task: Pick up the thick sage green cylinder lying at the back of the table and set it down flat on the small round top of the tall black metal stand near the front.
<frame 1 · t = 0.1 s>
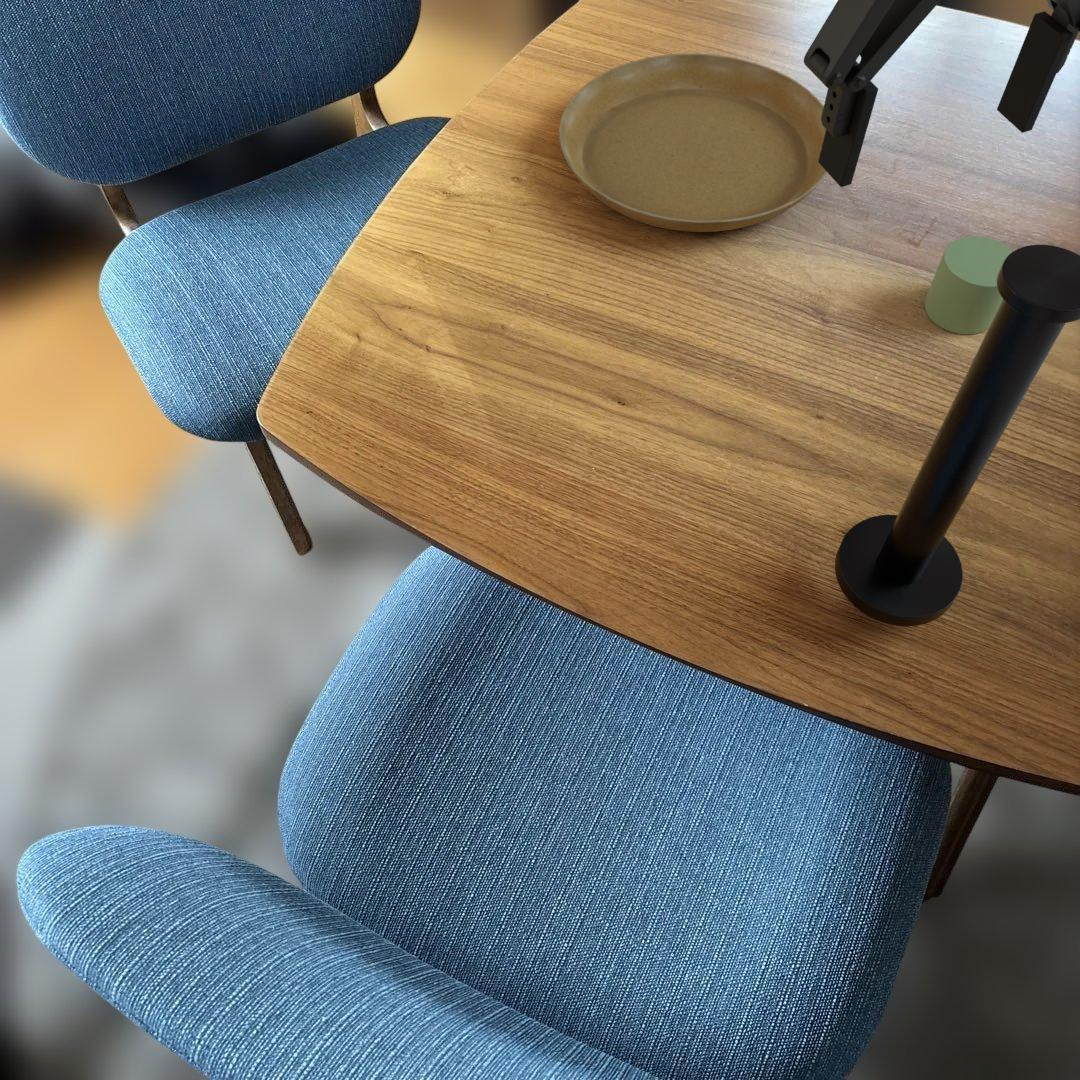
hand: (925, 146, 66), 17 cm above the table, tool pointing down, fingers open, 13 cm apart
plant saucer: (692, 163, 93), on the table
stand: (1052, 276, 47), on the table
sage green cylinder: (960, 309, 82), on the table
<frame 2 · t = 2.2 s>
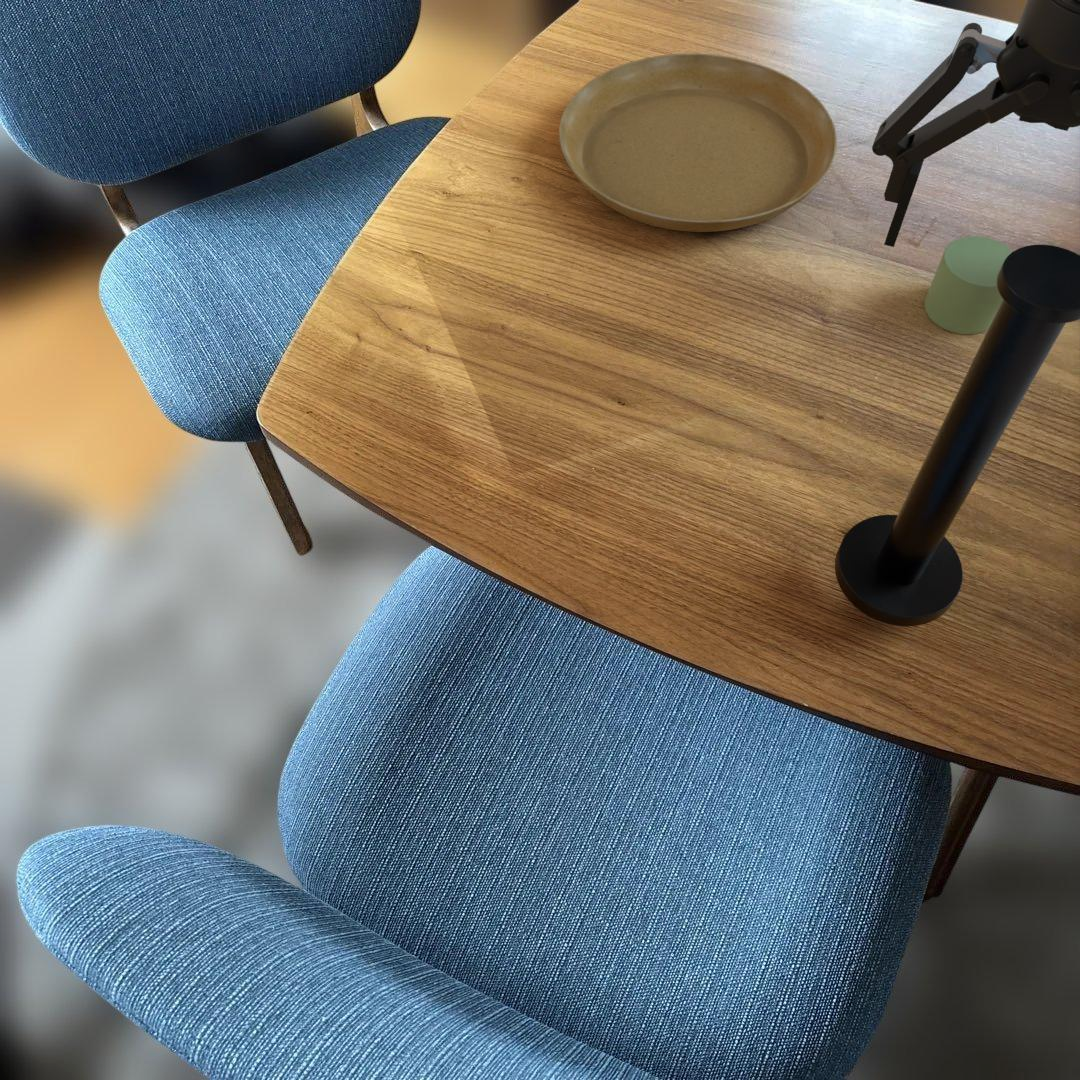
hand: (982, 257, 78), 5 cm above the table, tool pointing down, fingers open, 13 cm apart
nothing on the table moved.
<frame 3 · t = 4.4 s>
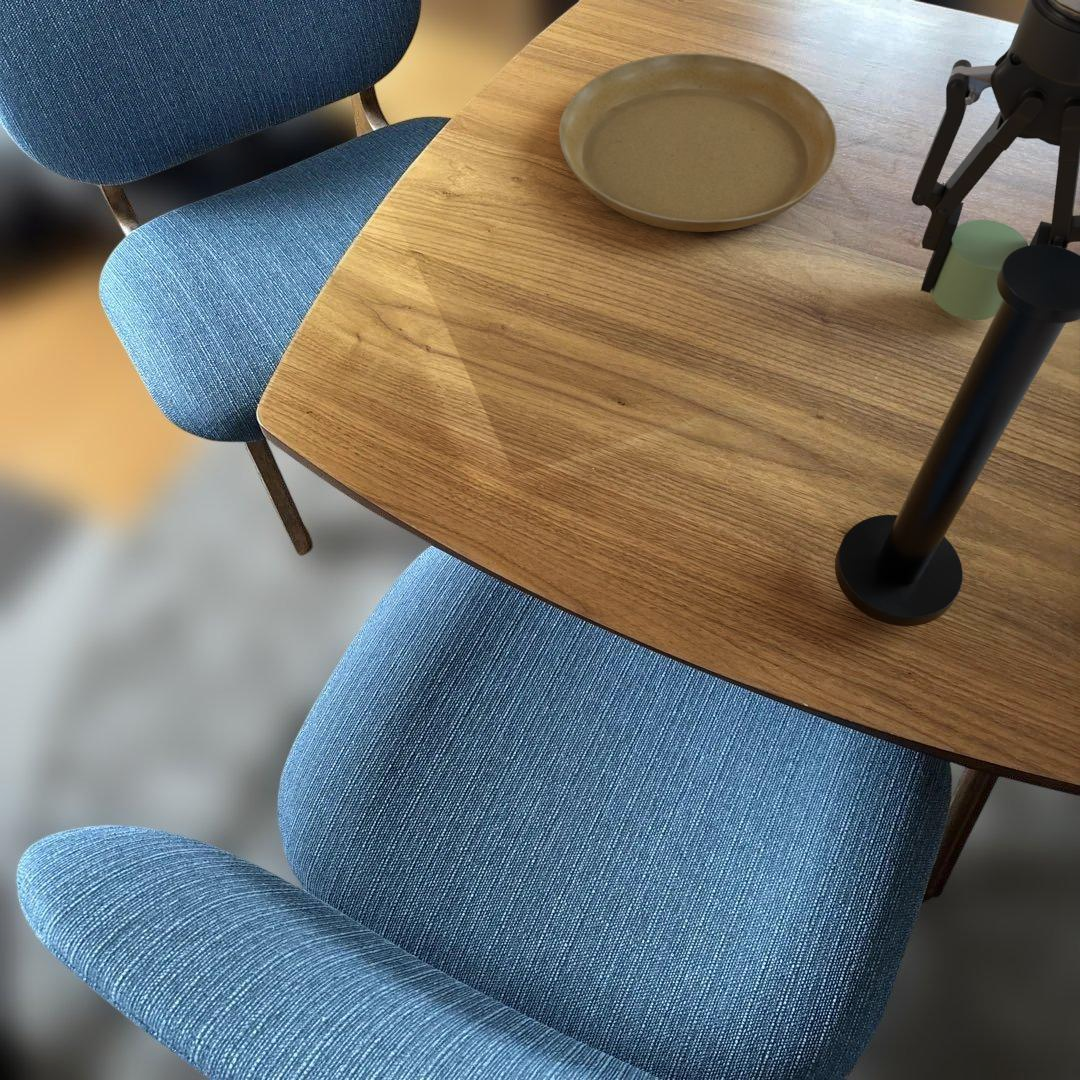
hand: (969, 290, 80), 2 cm above the table, tool pointing down, fingers closed on sage green cylinder, 6 cm apart
sage green cylinder: (967, 295, 80), point 2 cm above the table, touching gripper
everything else where it was.
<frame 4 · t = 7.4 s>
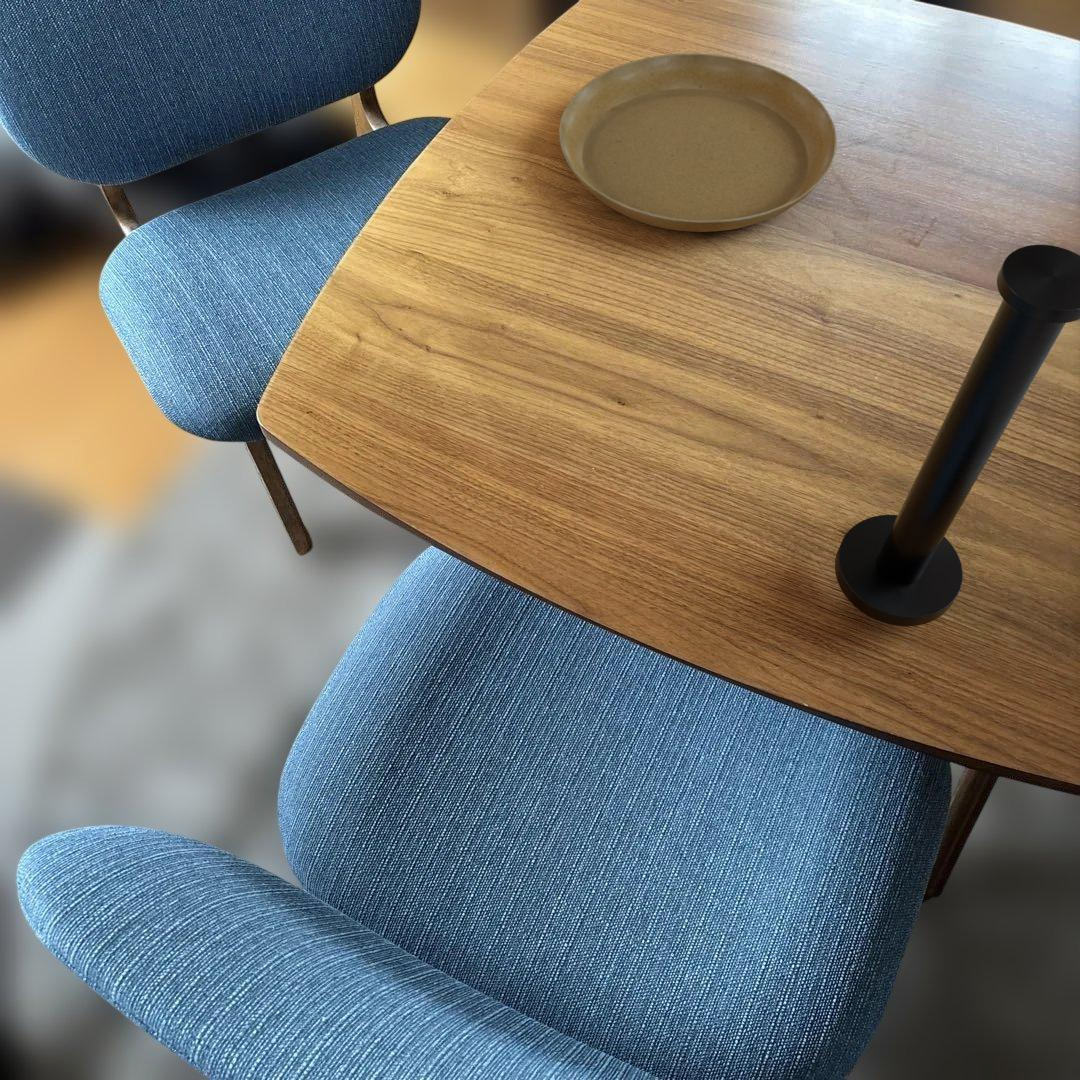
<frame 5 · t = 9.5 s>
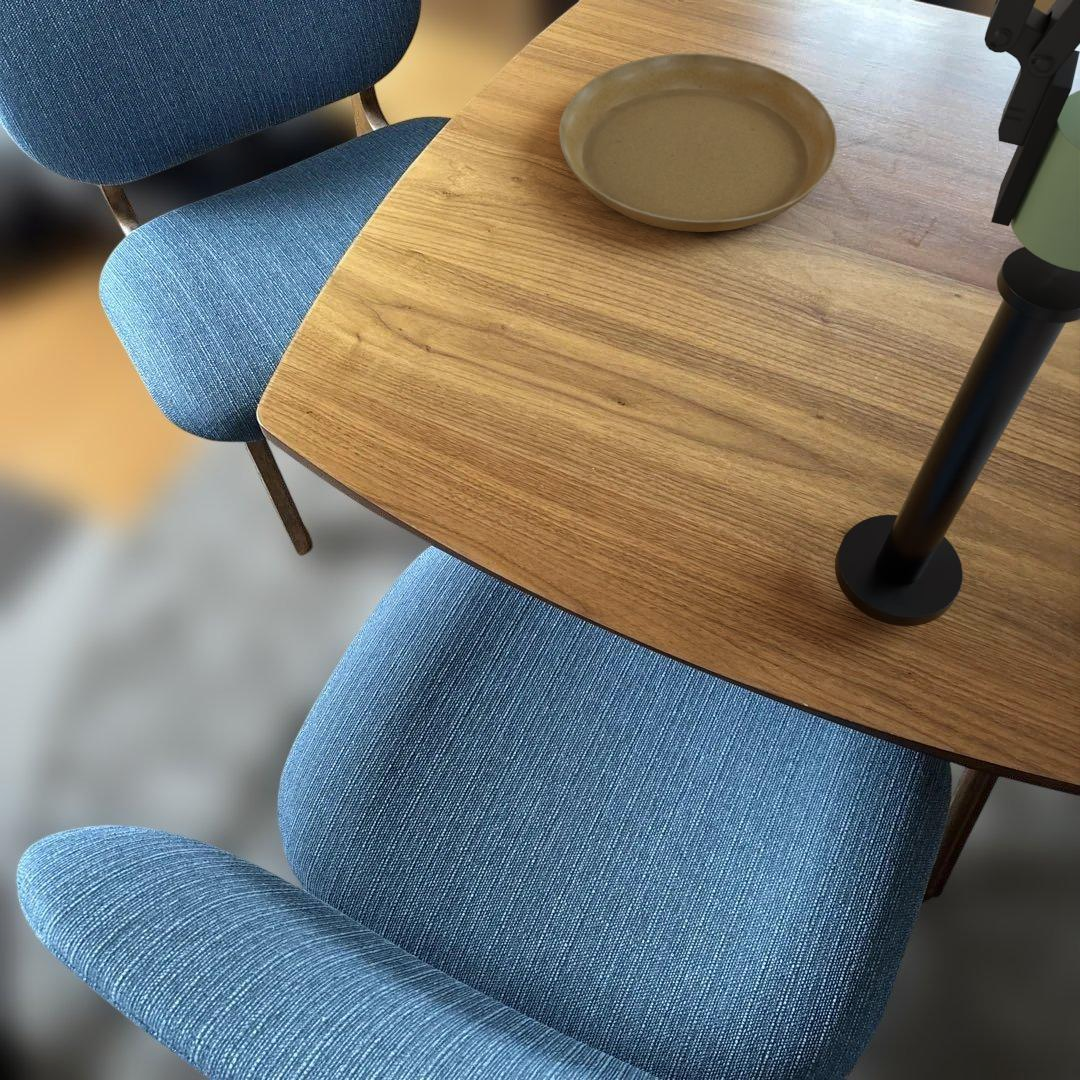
hand: (1079, 222, 45), 29 cm above the table, tool pointing down, fingers closed on sage green cylinder, 6 cm apart
sage green cylinder: (1076, 228, 45), point 29 cm above the table, touching gripper
everything else where it was.
when the fingers open (25 cm above the table, at t = 10.6 s): sage green cylinder stays where it is, resting on stand.
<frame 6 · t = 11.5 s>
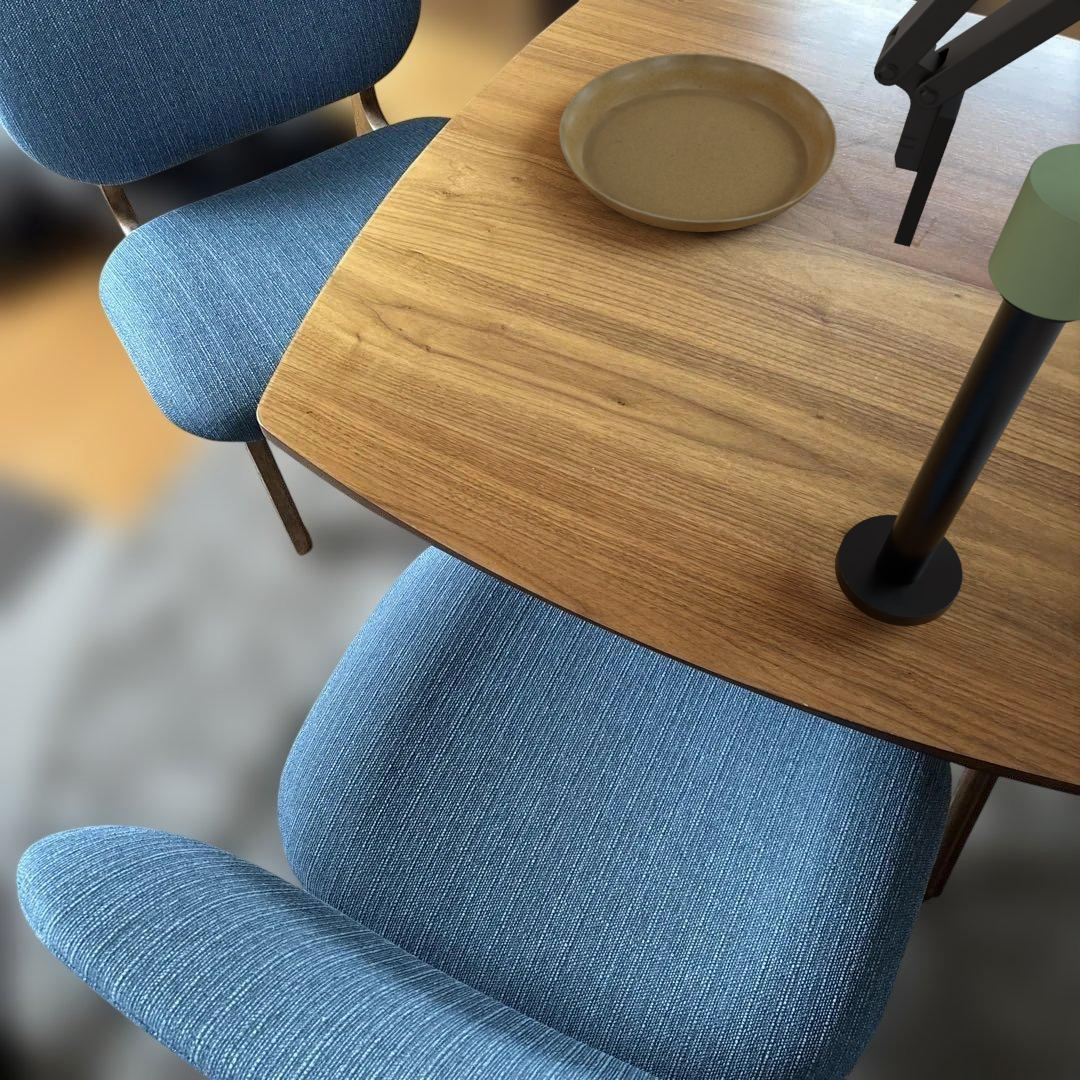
hand: (1058, 264, 46), 27 cm above the table, tool pointing down, fingers open, 13 cm apart
sage green cylinder: (1051, 276, 47), point 26 cm above the table, touching stand
everything else where it was.
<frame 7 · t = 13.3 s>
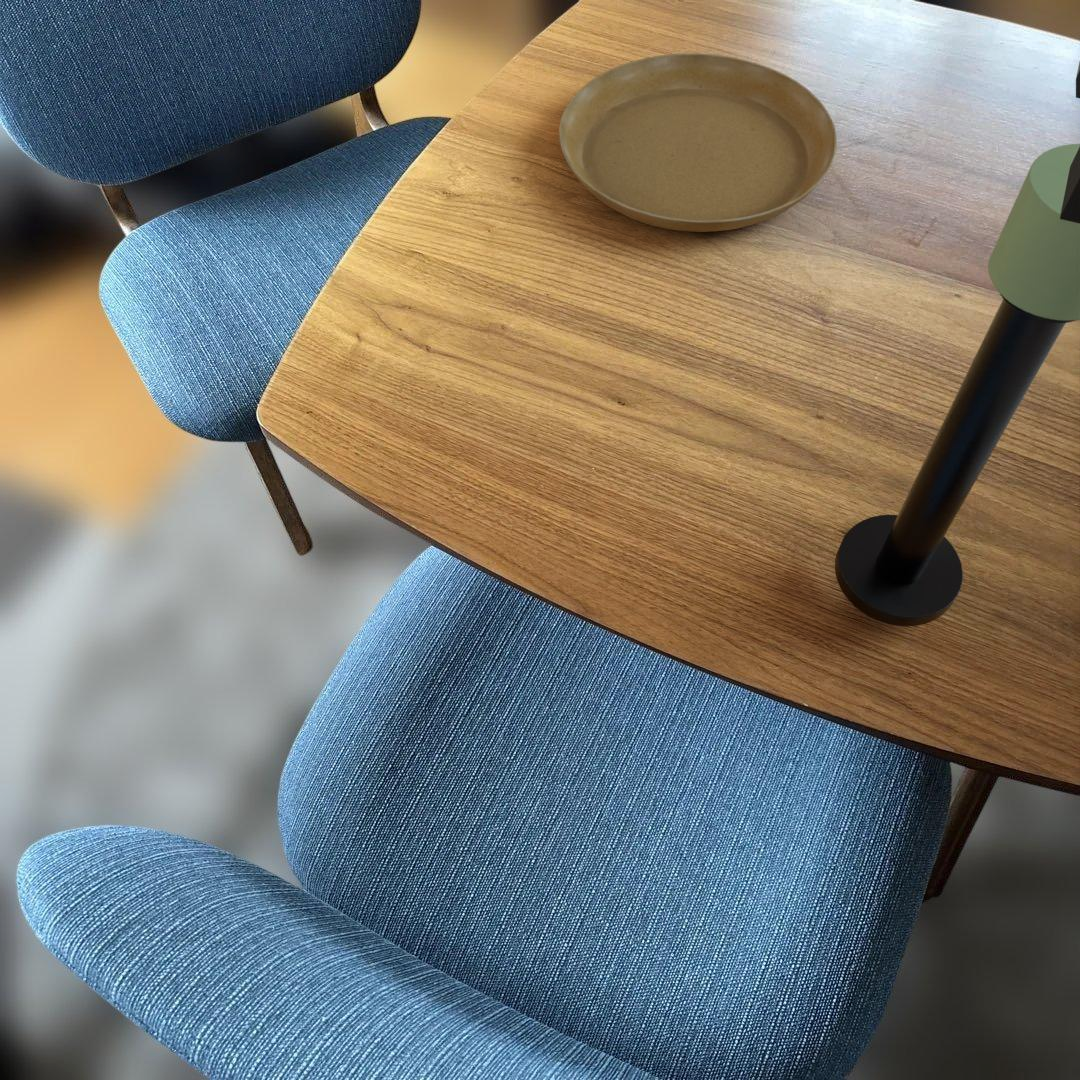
nothing on the table moved.
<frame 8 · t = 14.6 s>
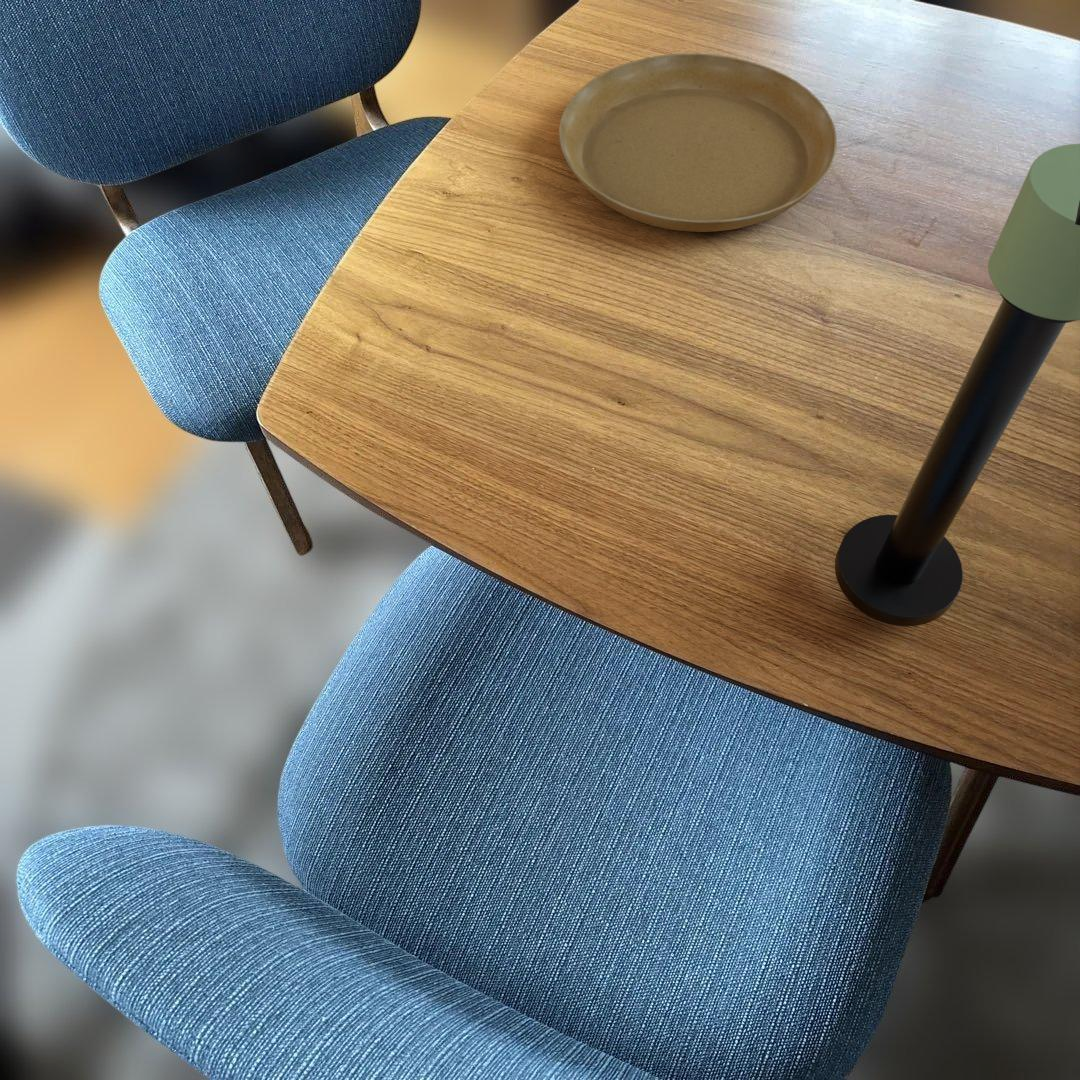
nothing on the table moved.
at the end: sage green cylinder 0.1 cm off-centre on the stand, point 0.0 cm above the stand's base; sage green cylinder tilted 0°; the gripper is holding nothing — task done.
